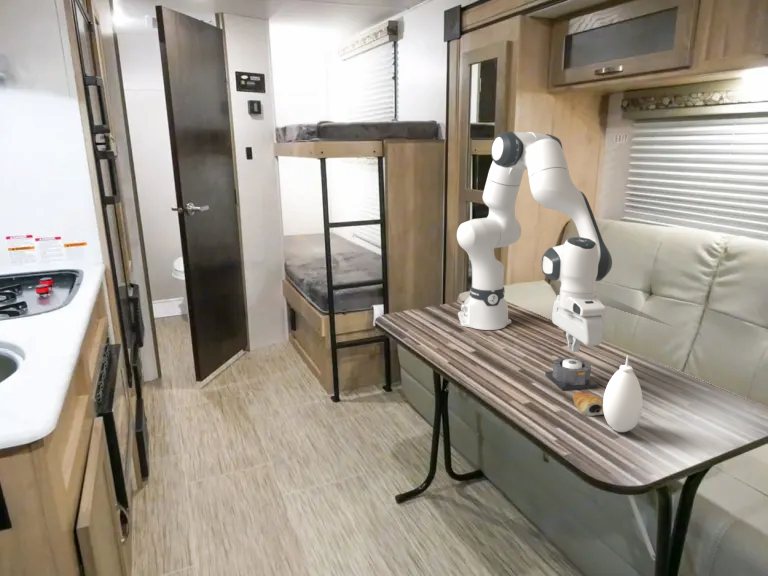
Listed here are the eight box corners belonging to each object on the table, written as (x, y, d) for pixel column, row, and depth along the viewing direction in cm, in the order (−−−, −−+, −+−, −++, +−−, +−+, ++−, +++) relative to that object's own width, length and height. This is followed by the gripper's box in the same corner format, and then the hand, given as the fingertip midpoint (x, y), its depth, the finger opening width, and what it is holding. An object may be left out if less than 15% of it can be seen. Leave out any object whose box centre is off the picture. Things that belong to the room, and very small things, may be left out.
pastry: (566, 399, 132) (567, 385, 131) (591, 398, 132) (593, 384, 131) (582, 417, 123) (583, 403, 122) (609, 416, 123) (611, 402, 122)
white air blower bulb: (628, 420, 120) (636, 348, 116) (645, 438, 113) (655, 361, 108) (595, 422, 120) (601, 349, 116) (610, 440, 113) (618, 362, 108)
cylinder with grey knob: (558, 374, 144) (559, 359, 142) (575, 373, 144) (576, 357, 143) (566, 382, 139) (568, 366, 138) (584, 381, 139) (585, 365, 138)
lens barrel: (545, 375, 146) (546, 358, 145) (578, 372, 147) (579, 355, 146) (562, 390, 136) (563, 373, 135) (597, 387, 138) (599, 370, 136)
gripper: (547, 291, 146) (544, 337, 149) (585, 312, 126) (581, 365, 129) (568, 289, 146) (565, 336, 150) (610, 310, 127) (605, 363, 130)
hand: (573, 349), depth 139 cm, fingers closed
